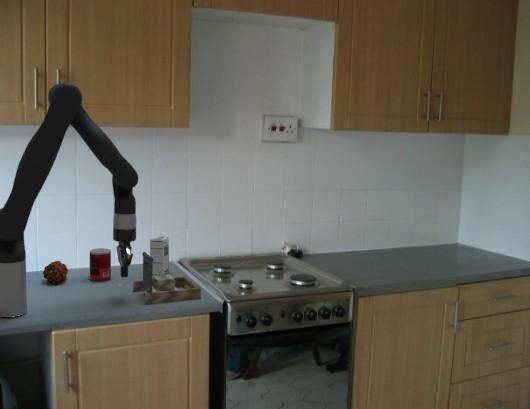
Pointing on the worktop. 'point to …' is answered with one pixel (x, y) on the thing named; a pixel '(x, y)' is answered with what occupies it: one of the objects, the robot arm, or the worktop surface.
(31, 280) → the worktop surface
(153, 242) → the syrup box
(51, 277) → the dragon fruit
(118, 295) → the worktop surface
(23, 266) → the robot arm
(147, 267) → the grey l-shaped piece
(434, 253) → the worktop surface
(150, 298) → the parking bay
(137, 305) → the worktop surface
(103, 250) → the canned food
